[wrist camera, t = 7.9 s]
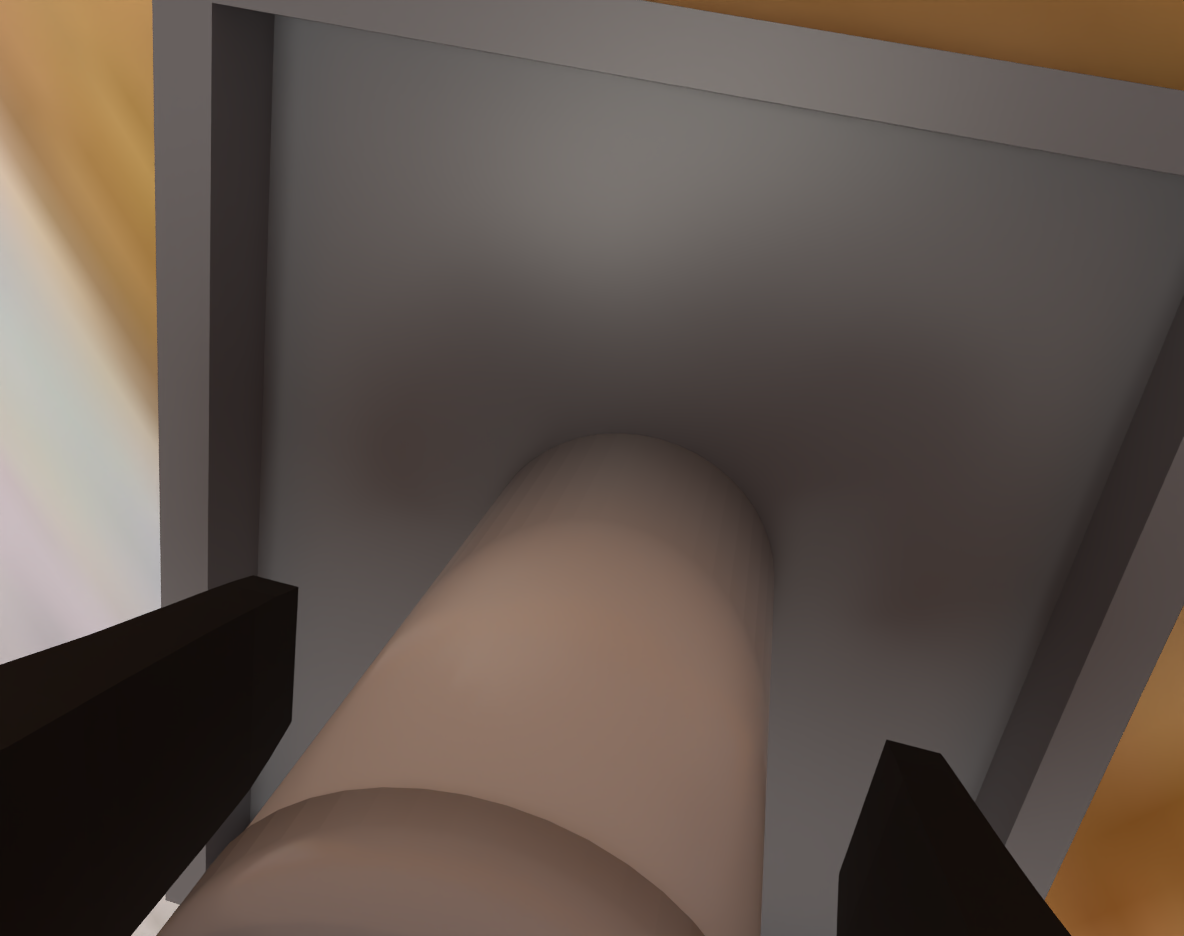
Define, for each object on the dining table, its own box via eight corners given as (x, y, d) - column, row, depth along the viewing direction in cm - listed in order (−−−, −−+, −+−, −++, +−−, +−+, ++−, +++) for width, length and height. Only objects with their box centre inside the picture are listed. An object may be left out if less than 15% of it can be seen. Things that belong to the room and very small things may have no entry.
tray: (1289, 124, 12) (1407, 128, 9) (914, 1006, 18) (932, 1137, 16) (261, -49, 14) (151, -82, 11) (239, 807, 20) (165, 900, 17)
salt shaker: (816, 476, 14) (855, 1082, 5) (732, 733, 15) (660, 1493, 7) (507, 395, 14) (79, 826, 6) (462, 653, 16) (87, 1271, 7)
